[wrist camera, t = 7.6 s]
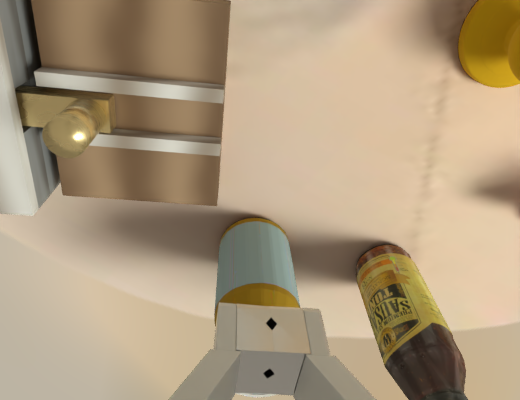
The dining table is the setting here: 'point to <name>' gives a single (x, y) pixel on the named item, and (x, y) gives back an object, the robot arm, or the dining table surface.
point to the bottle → (255, 268)
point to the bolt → (66, 117)
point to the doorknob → (492, 43)
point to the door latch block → (117, 98)
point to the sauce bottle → (409, 326)
